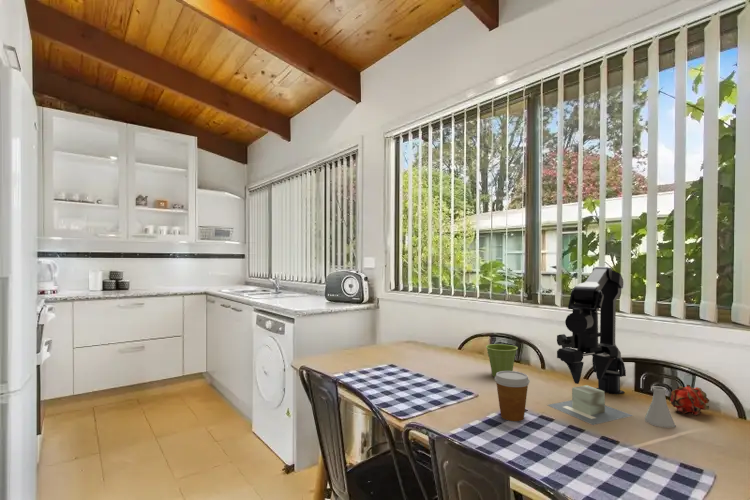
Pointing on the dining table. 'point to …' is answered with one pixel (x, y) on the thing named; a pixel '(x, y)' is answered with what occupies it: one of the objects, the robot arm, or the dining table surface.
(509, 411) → the disposable coffee cup
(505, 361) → the plant pot
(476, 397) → the dining table surface
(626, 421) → the dining table surface
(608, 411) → the board
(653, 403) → the flask
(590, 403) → the sage block
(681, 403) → the dragon fruit
